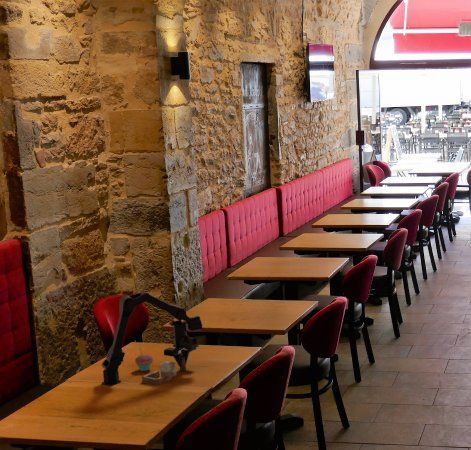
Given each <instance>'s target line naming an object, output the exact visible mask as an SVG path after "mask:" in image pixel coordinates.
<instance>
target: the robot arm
mask: <svg viewBox="0 0 471 450" xmlns="http://www.w3.org/2000/svg"><path fill="white" fill-rule="evenodd" d="M143 303H148V304H149V305H152V306H153V307H156V308H158V309H160V310H163V311H164V312H166V313H167V314H169V315H170V316H172V318H174V319H175V320H174V319H171V321H170V322H168V325H170V327H173V335H172V339H174V344H172V347H171V346H170V347H167V348H165V349H164V350H163V356H166V357H167V356H168V357H171V358H172V357H173V359H174V361H176V362H175V363H177V365H178V366H179V368H180V367H181V366H182V357H185V364H186V365H187V362H188V359H189V355H190V353H191V352H193V351H196V350H197V348H199V343H200V341H199V338H197V337H195V338H192V339H190V336H189V334H187V331H188V332H190V333H193V332H197V331H202V330H203V323H202V320H201V316H199V315H195V316H188V315H187V311H186V309H185V308H183V307H181V306H180V305H177V304H171V303H169V302H166V301H164V300H161V299H159V298H157V297H156V296H153V295H151V294H149V293H148V292H146V291H141V292H138V293H135V294H130V295H123V296H121V297H120V299H119V305H118V307H119V308H118V309H119V318H118V321H117V325H116V327H115V328H116V329H115V333H114V337H113V341H112V345H111V346H110V347H109V349H108V351H107V354H106V357H105V359H104V360H103V362H102V363H101V366H102V369H103V371H102V376H103V381H102V382H101V384H104V385H107V386H114V385H116V384H118V383H121V382H122V380H121V379H120V376H119V373H120V372H119V366H121V365H122V363H123V362H124V358H125V354H126V353H125V351H124V350H123V344H124V340H125V336H126V331H127V328H128V323H129V320H130V317H131V315H132V314H133V312H134V310H135V308H136V307H138V306H140V305H142V304H143ZM182 320H183V321H182Z"/></svg>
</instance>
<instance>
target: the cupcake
mask: <svg viewBox="0 0 471 450" xmlns="http://www.w3.org/2000/svg"><path fill="white" fill-rule="evenodd" d="M139 351H140V355H138V356H137V357H135V359H134V361H135V364H136V365H137V367H138V369H139V371H141V372H147V371H149V370H150V369H151V365H152V363H153V362H154V358H153V356H151V355H150V354H143V349H142V346H141V345H139Z"/></svg>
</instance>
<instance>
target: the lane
mask: <svg viewBox="0 0 471 450" xmlns="http://www.w3.org/2000/svg"><path fill="white" fill-rule="evenodd" d="M173 379H174V378H173V374H172V373H170V374H167V375H165V376H162V377H161V376H160V371H159V370H156V371H152V372H151V373H148V374H146V375H143V376H141V382H142V383H144V384H149V385H153V386H159V385H162V384H163V383H167V382H169V381H171V380H173Z"/></svg>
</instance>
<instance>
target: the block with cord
mask: <svg viewBox="0 0 471 450" xmlns="http://www.w3.org/2000/svg"><path fill="white" fill-rule="evenodd" d="M176 363H177V362H174V361H164V362H162V363H159V367H160V368H159V369H160V377H162V376H165V375H167V374H170V373H172V374H173V377H176V376H177V373H178V372H180V371H181V372H182V371H186V370H187V367H186V366H187V363H186V364H185V357H182V366H181V367H179V369H178V370H177V367H176V366H177V365H176Z"/></svg>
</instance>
